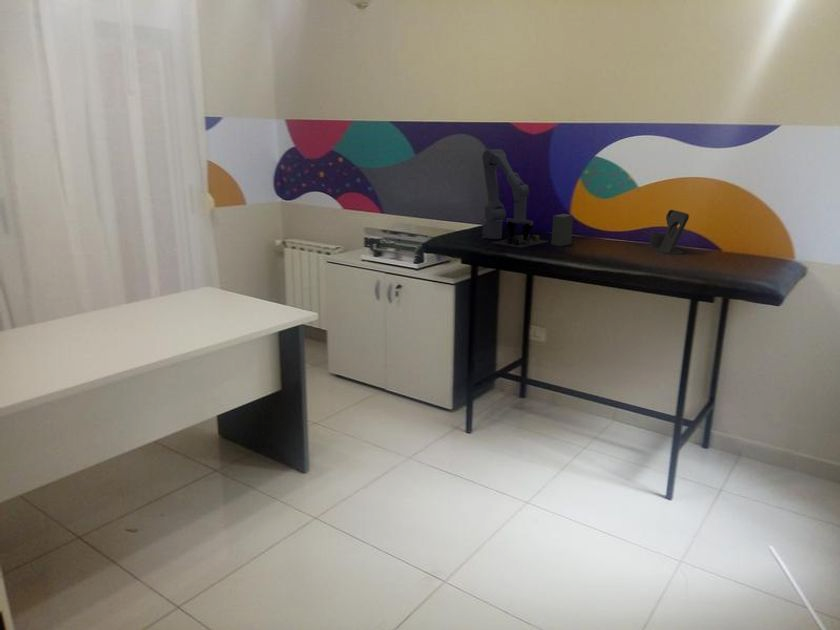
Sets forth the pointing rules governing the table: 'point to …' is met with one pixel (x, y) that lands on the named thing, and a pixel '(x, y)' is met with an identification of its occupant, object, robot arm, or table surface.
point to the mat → (528, 243)
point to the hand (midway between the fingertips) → (518, 238)
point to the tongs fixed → (512, 239)
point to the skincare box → (562, 229)
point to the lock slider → (535, 237)
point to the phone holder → (670, 234)
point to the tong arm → (520, 241)
